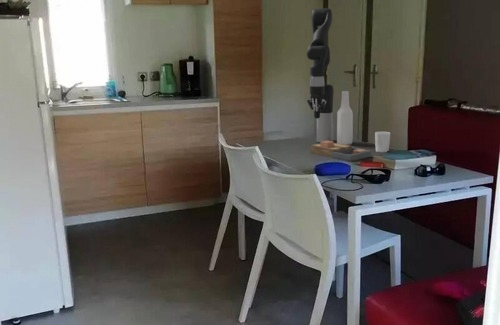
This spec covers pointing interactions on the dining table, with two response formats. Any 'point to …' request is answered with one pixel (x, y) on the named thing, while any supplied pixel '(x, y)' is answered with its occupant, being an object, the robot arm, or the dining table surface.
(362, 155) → the box
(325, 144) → the tile
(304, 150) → the dining table surface
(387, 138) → the white cup
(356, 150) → the tile
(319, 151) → the oak plate
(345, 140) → the alcohol
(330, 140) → the robot arm
